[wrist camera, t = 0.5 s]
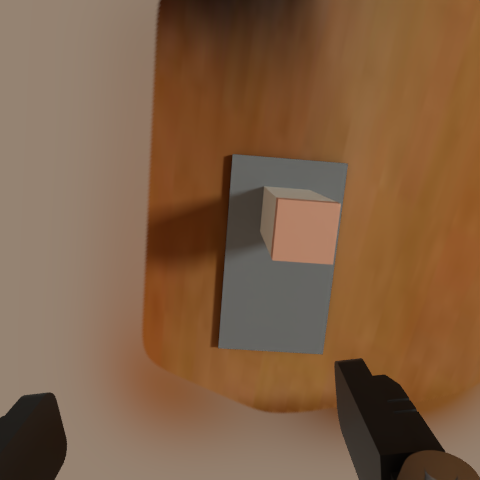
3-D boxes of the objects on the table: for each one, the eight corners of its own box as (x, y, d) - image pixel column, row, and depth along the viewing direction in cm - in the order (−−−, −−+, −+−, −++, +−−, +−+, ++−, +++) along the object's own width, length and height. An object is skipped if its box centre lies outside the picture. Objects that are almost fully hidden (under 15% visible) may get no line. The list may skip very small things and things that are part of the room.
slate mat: (232, 154, 35) (232, 154, 34) (346, 163, 35) (347, 163, 35) (218, 345, 39) (218, 348, 38) (321, 351, 39) (322, 354, 39)
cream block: (264, 186, 35) (278, 198, 25) (309, 189, 35) (340, 203, 26) (259, 231, 36) (272, 260, 26) (304, 234, 36) (333, 264, 26)
